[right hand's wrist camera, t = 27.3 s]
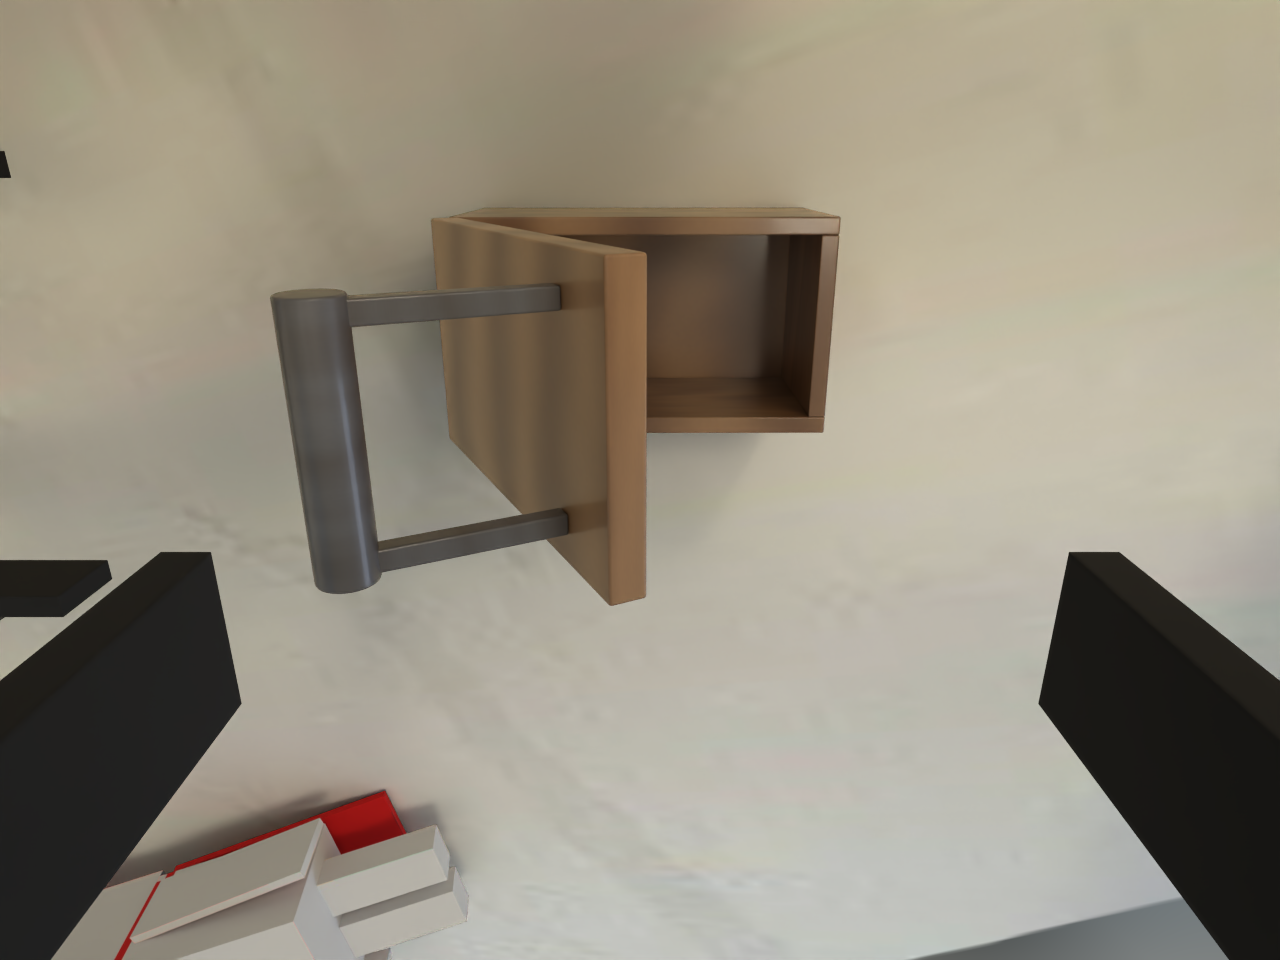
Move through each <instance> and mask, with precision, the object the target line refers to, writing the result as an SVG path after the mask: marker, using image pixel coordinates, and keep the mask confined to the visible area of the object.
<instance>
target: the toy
mask: <svg viewBox="0 0 1280 960" xmlns="http://www.w3.org/2000/svg"><path fill="white" fill-rule="evenodd" d="M449 862H450V853H449V851H448V849H447V847H446V845H445V842H444V840H443V838H442V836H441V834H440V831H439V829H438V827H437V825H436V824H435V825H432V826H429V827H426V828H423V829H420V830H416V831H413V832H410V833H406V831H405V830H404V828H403V826H402V824H401V822H400V820H399V818H398V816H397V814H396V812H395V810H394V808H393V806H392V804H391V802H390V800H389V798H388V796H387V794H386V792H385V791H383V792H380V793H377V794H374V795H372V796H369V797H366V798H363V799H360V800H358V801H355V802H352V803H349V804H347V805H344V806H341V807H338V808H335V809H333V810H330V811H327V812H324V813H322V814H319V815H316V816H313V817H311V818H308V819H305V820H302V821H299V822H297V823H294V824H291V825H288V826H286V827H283V828H280V829H277V830H274V831H272V832H269V833H266V834H263V835H261V836H258V837H255V838H252V839H249V840H247V841H244V842H241V843H238V844H236V845H233V846H230V847H227V848H225V849H222V850H219V851H216V852H213V853H211V854H208V855H205V856H202V857H200V858H197V859H194V860H191V861H188V862H186V863H183V864H180V865H177V866H176V867H175V869H174V871H173V872H171V873H168V874H165V872H164V870H162V871H158V872H155V873H152V874H149V875H146V876H143V877H140V878H136V879H133V880H130V881H127V882H124V883H121V884H118V885H114V886H111V887H108V888H105V889H103V890H102V892H101V893H100V894H99V896H98V897H97V899H96V900H95V901H94V903H93V904H92V905H91V907H90V908H89V909H88V911H87V912H86V913H85V915H84V916H83V917H82V919H81V920H80V921H79V923H78V924H77V925H76V927H75V928H74V929H73V931H72V932H71V933H70V935H69V936H68V937H67V939H66V940H65V942H64V943H63V944H62V946H61V947H60V948H59V950H58V951H57V952H56V954H55V955H54V956H53V958H52V959H51V960H391V959H392V951H391V948H388V949H384V948H387V947H390V946H393V945H396V944H399V943H402V942H405V941H408V940H412V939H415V938H418V937H421V936H424V935H427V934H430V933H433V932H436V931H439V930H442V929H445V928H448V927H451V926H455V925H458V924H461V923H464V922H467V911H468V898H469V895H468V893H467V891H466V889H465V886H464V884H463V882H462V880H461V878H460V875H459V873H458V871H457V869H456V867H455V866H454V867H451V868H449ZM381 949H384V950H381ZM378 950H380V951H378ZM375 951H376V952H375Z"/></svg>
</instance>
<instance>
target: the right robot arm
mask: <svg viewBox="0 0 1280 960" xmlns="http://www.w3.org/2000/svg"><path fill="white" fill-rule="evenodd" d="M241 704H242V703H241V699H240V694H239V689H238V684H237V679H236V674H235V669H234V664H233V659H232V654H231V649H230V644H229V639H228V634H227V629H226V624H225V619H224V615H223V610H222V605H221V600H220V595H219V590H218V585H217V580H216V575H215V570H214V565H213V560H212V555H211V552H160V553H159V554H158V555H157V556H155V557H154V558H153V559H152V560H150V561H149V562H148V563H147V564H145V565H144V566H143V567H142V568H140V569H139V570H138V571H137V572H135V573H134V574H133V575H132V576H130V577H129V578H128V579H127V580H125V581H124V582H123V583H122V584H120V585H119V586H118V587H117V588H115V589H114V590H113V591H112V592H110V593H109V594H108V595H107V596H105V597H104V598H103V599H102V600H100V601H99V602H98V603H97V604H95V605H94V606H93V607H92V608H90V609H89V610H88V611H87V612H85V613H84V614H83V615H82V616H80V617H79V618H78V619H77V620H75V621H74V622H73V623H72V624H71V625H69V626H68V627H67V628H66V629H64V630H63V631H62V632H61V633H59V634H58V635H57V636H56V637H54V638H53V639H52V640H51V641H49V642H48V643H47V644H46V645H44V646H43V647H42V648H41V649H39V650H38V651H37V652H36V653H34V654H33V655H32V656H31V657H29V658H28V659H27V660H26V661H24V662H23V663H22V664H21V665H19V666H18V667H17V668H16V669H14V670H13V671H12V672H11V673H9V674H8V675H7V676H6V677H4V678H3V679H2V680H1V681H0V960H51V959H52V958H53V956H54V955H55V954H56V952H57V951H58V950H59V948H60V947H61V946H62V944H63V943H64V942H65V940H66V939H67V937H68V936H69V935H70V933H71V932H72V931H73V929H74V928H75V927H76V925H77V924H78V923H79V921H80V920H81V919H82V917H83V916H84V915H85V913H86V912H87V911H88V909H89V908H90V907H91V905H92V904H93V903H94V901H95V900H96V899H97V897H98V896H99V894H100V893H101V892H102V890H103V889H104V888H105V886H106V885H107V884H108V882H109V881H110V880H111V878H112V877H113V876H114V874H115V873H116V872H117V870H118V869H119V868H120V866H121V865H122V864H123V862H124V861H125V860H126V858H127V857H128V856H129V854H130V853H131V851H132V850H133V849H134V847H135V846H136V845H137V843H138V842H139V841H140V839H141V838H142V837H143V835H144V834H145V833H146V831H147V830H148V829H149V827H150V826H151V825H152V823H153V822H154V821H155V819H156V818H157V817H158V815H159V814H160V813H161V811H162V810H163V808H164V807H165V806H166V804H167V803H168V802H169V800H170V799H171V798H172V796H173V795H174V794H175V792H176V791H177V790H178V788H179V787H180V786H181V784H182V783H183V782H184V780H185V779H186V778H187V776H188V775H189V774H190V772H191V771H192V770H193V768H194V767H195V765H196V764H197V763H198V761H199V760H200V759H201V757H202V756H203V755H204V753H205V752H206V751H207V749H208V748H209V747H210V745H211V744H212V743H213V741H214V740H215V739H216V737H217V736H218V735H219V733H220V732H221V731H222V729H223V728H224V727H225V725H226V724H227V722H228V721H229V720H230V718H231V717H232V716H233V714H234V713H235V712H236V710H237V709H238V708H239V706H240V705H241ZM1038 704H1039V705H1040V706H1041V708H1042V709H1043V710H1044V712H1045V713H1046V714H1047V716H1048V717H1049V718H1050V720H1051V721H1052V722H1053V724H1054V725H1055V727H1056V728H1057V729H1058V731H1059V732H1060V733H1061V735H1062V736H1063V737H1064V739H1065V740H1066V741H1067V743H1068V744H1069V745H1070V747H1071V748H1072V749H1073V751H1074V752H1075V753H1076V755H1077V756H1078V757H1079V759H1080V760H1081V761H1082V763H1083V764H1084V765H1085V767H1086V768H1087V770H1088V771H1089V772H1090V774H1091V775H1092V776H1093V778H1094V779H1095V780H1096V782H1097V783H1098V784H1099V786H1100V787H1101V788H1102V790H1103V791H1104V792H1105V794H1106V795H1107V796H1108V798H1109V799H1110V800H1111V802H1112V803H1113V804H1114V806H1115V807H1116V808H1117V810H1118V811H1119V813H1120V814H1121V815H1122V817H1123V818H1124V819H1125V821H1126V822H1127V823H1128V825H1129V826H1130V827H1131V829H1132V830H1133V831H1134V833H1135V834H1136V835H1137V837H1138V838H1139V839H1140V841H1141V842H1142V843H1143V845H1144V846H1145V847H1146V849H1147V850H1148V851H1149V853H1150V854H1151V856H1152V857H1153V858H1154V860H1155V861H1156V862H1157V864H1158V865H1159V866H1160V868H1161V869H1162V870H1163V872H1164V873H1165V874H1166V876H1167V877H1168V878H1169V880H1170V881H1171V882H1172V884H1173V885H1174V886H1175V888H1176V889H1177V890H1178V892H1179V893H1180V894H1181V896H1182V897H1183V899H1184V900H1185V901H1186V903H1187V904H1188V905H1189V907H1190V908H1191V909H1192V911H1193V912H1194V913H1195V915H1196V916H1197V917H1198V919H1199V920H1200V921H1201V923H1202V924H1203V925H1204V927H1205V928H1206V929H1207V931H1208V932H1209V933H1210V935H1211V936H1212V937H1213V939H1214V940H1215V942H1216V943H1217V944H1218V946H1219V947H1220V948H1221V950H1222V951H1223V952H1224V954H1225V955H1226V956H1227V958H1228V959H1229V960H1280V681H1279V680H1278V679H1277V678H1276V677H1274V676H1273V675H1272V674H1271V673H1269V672H1268V671H1267V670H1266V669H1264V668H1263V667H1262V666H1261V665H1259V664H1258V663H1257V662H1256V661H1254V660H1253V659H1252V658H1251V657H1249V656H1248V655H1247V654H1246V653H1244V652H1243V651H1242V650H1241V649H1239V648H1238V647H1237V646H1236V645H1234V644H1233V643H1232V642H1231V641H1229V640H1228V639H1227V638H1226V637H1224V636H1223V635H1222V634H1221V633H1219V632H1218V631H1217V630H1216V629H1214V628H1213V627H1212V626H1211V625H1209V624H1208V623H1207V622H1206V621H1205V620H1203V619H1202V618H1201V617H1200V616H1198V615H1197V614H1196V613H1195V612H1193V611H1192V610H1191V609H1190V608H1188V607H1187V606H1186V605H1185V604H1183V603H1182V602H1181V601H1180V600H1178V599H1177V598H1176V597H1175V596H1173V595H1172V594H1171V593H1170V592H1168V591H1167V590H1166V589H1165V588H1163V587H1162V586H1161V585H1160V584H1158V583H1157V582H1156V581H1155V580H1153V579H1152V578H1151V577H1150V576H1148V575H1147V574H1146V573H1145V572H1143V571H1142V570H1141V569H1140V568H1138V567H1137V566H1136V565H1135V564H1133V563H1132V562H1131V561H1130V560H1128V559H1127V558H1126V557H1125V556H1123V555H1122V554H1121V553H1120V552H1069V555H1068V560H1067V565H1066V570H1065V575H1064V580H1063V585H1062V590H1061V595H1060V600H1059V605H1058V610H1057V615H1056V619H1055V624H1054V629H1053V634H1052V639H1051V644H1050V649H1049V654H1048V659H1047V664H1046V669H1045V674H1044V679H1043V684H1042V689H1041V694H1040V699H1039V703H1038Z"/></svg>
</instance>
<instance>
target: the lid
mask: <svg viewBox="0 0 1280 960" xmlns="http://www.w3.org/2000/svg"><path fill="white" fill-rule="evenodd" d="M431 225H432V237H433V249H434V260H435V272H436V284H437V290H428V291H412V292H396V293H380V294H364V295H348V296H347V293H346V292H345V291H342V290H337V289H301V290H291V291H284V292H279V293H275V294H273V295H271V297H270V300H271V307H272V313H273V320H274V326H275V332H276V339H277V345H278V352H279V358H280V364H281V371H282V377H283V384H284V390H285V396H286V403H287V409H288V416H289V422H290V428H291V435H292V441H293V448H294V454H295V460H296V467H297V473H298V480H299V486H300V493H301V499H302V505H303V512H304V518H305V525H306V531H307V537H308V544H309V550H310V557H311V563H312V569H313V576H314V582H315V585H316V587H317V588H318V589H319V590H321V591H323V592H326V593H332V594H345V593H352V592H357V591H360V590H363V589H366V588H368V587H370V586H372V585H374V584H375V583H376V582H378V580H379V579H380V577H381V574H382V572H386V571H391V570H396V569H401V568H406V567H411V566H416V565H421V564H426V563H431V562H436V561H441V560H445V559H450V558H455V557H460V556H465V555H470V554H475V553H480V552H485V551H490V550H495V549H500V548H505V547H510V546H515V545H520V544H525V543H529V542H534V541H539V540H544V539H546V540H547V541H548V542H549V543H550V544H551V545H552V546H553V547H554V548H555V549H556V550H557V551H558V552H559V553H560V554H561V555H562V556H563V557H564V558H565V560H566V561H567V562H568V563H569V564H570V565H571V566H572V567H573V568H574V569H575V570H576V571H577V572H578V573H579V574H580V575H581V576H582V577H583V578H584V579H585V580H586V581H587V583H588V584H589V585H590V586H591V587H592V588H593V589H594V590H595V591H596V592H597V593H598V594H599V595H600V596H601V597H602V598H603V599H604V600H605V601H606V602H607V603H608V604H609V605H610V606H613V605H617V604H621V603H625V602H629V601H633V600H637V599H642V598H645V597H646V401H647V255H646V253H644V252H640V251H635V250H630V249H624V248H619V247H613V246H608V245H603V244H597V243H592V242H586V241H581V240H576V239H570V238H565V237H559V236H554V235H548V234H543V233H538V232H532V231H527V230H521V229H516V228H511V227H505V226H500V225H494V224H489V223H484V222H478V221H473V220H467V219H462V218H433V219H431ZM436 320H440V330H441V342H442V354H443V365H444V377H445V389H446V400H447V412H448V424H449V435H450V439H451V440H452V441H453V442H454V443H455V444H456V445H457V447H458V448H459V449H460V450H461V451H462V452H463V453H464V454H465V455H466V456H467V457H468V458H469V459H470V460H471V461H472V462H473V463H474V464H475V465H476V466H477V467H478V468H479V470H480V471H481V472H482V473H483V474H484V475H485V476H486V477H487V478H488V479H489V480H490V481H491V482H492V483H493V484H494V485H495V486H496V487H497V488H498V489H499V490H500V492H501V493H502V494H503V495H504V496H505V497H506V498H507V499H508V500H509V501H510V502H511V503H512V504H513V505H514V506H515V507H516V508H517V509H518V510H519V511H520V512H521V513H522V515H518V516H513V517H507V518H502V519H497V520H491V521H486V522H481V523H475V524H470V525H464V526H459V527H454V528H448V529H443V530H438V531H432V532H427V533H422V534H416V535H411V536H406V537H400V538H395V539H389V540H384V541H379V542H378V539H377V531H376V523H375V514H374V506H373V498H372V490H371V482H370V474H369V466H368V458H367V450H366V442H365V433H364V425H363V417H362V409H361V401H360V393H359V385H358V377H357V369H356V361H355V352H354V344H353V336H352V328H351V327H360V326H372V325H385V324H398V323H411V322H423V321H436Z"/></svg>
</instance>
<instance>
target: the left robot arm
mask: <svg viewBox="0 0 1280 960" xmlns="http://www.w3.org/2000/svg"><path fill="white" fill-rule="evenodd" d="M0 178H11V176H10V172H9V168H8V164H7V160H6V156H5V152H4V151H0ZM111 579H112V576H111V572H110V568H109V565H108V561H107V560H0V620H1V619H3V618H4V617H64V616H65V615H66V614H68V613H69V612H70V611H72V610H73V609H74V608H75V607H77V606H78V605H79V604H81V603H82V602H83V601H84V600H86V599H87V598H88V597H90V596H91V595H92V594H93V593H95V592H96V591H97V590H99V589H100V588H101V587H102V586H104V585H105V584H106V583H108V582H109V581H110V580H111Z"/></svg>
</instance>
